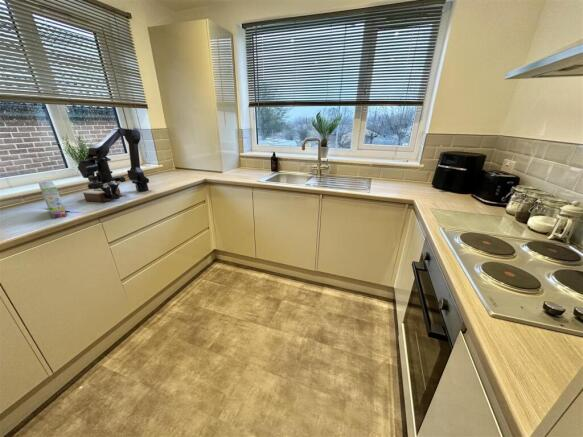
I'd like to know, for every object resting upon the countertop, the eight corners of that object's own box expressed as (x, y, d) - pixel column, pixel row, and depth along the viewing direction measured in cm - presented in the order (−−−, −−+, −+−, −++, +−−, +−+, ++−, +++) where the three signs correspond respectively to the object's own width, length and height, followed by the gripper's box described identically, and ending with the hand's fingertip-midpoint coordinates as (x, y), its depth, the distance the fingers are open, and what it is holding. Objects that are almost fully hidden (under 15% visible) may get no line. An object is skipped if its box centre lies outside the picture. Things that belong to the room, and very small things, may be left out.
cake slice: (107, 199, 140) (104, 191, 138) (101, 201, 137) (98, 193, 135) (91, 198, 143) (88, 190, 141) (85, 200, 140) (82, 192, 138)
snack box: (68, 215, 119) (56, 186, 114) (53, 219, 115) (40, 188, 110) (62, 206, 133) (51, 180, 127) (48, 209, 129) (36, 182, 123)
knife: (119, 198, 139) (117, 192, 137) (116, 199, 137) (114, 193, 135) (97, 196, 143) (95, 189, 142) (93, 197, 141) (91, 190, 139)
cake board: (128, 196, 149) (127, 194, 149) (105, 204, 135) (104, 202, 135) (102, 195, 153) (101, 193, 153) (76, 202, 139) (76, 201, 139)
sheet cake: (121, 195, 149) (118, 187, 147) (112, 197, 144) (110, 189, 142) (105, 194, 151) (103, 186, 149) (96, 197, 146) (93, 189, 144)
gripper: (107, 166, 142) (114, 191, 148) (74, 173, 126) (85, 201, 132) (122, 167, 140) (129, 192, 146) (91, 173, 123) (101, 202, 129)
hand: (112, 196), depth 138 cm, fingers closed on knife, 2 cm apart
